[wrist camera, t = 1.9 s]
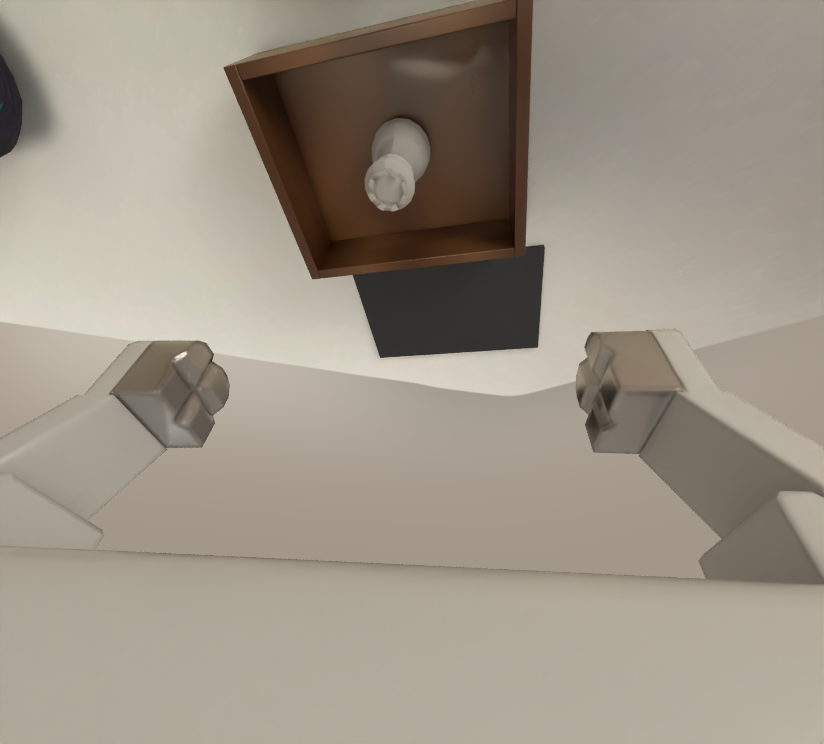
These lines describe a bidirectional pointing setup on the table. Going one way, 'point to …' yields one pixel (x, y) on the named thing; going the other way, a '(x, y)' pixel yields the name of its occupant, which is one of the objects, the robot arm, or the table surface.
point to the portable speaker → (9, 110)
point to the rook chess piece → (396, 163)
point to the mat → (455, 306)
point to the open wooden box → (408, 99)
